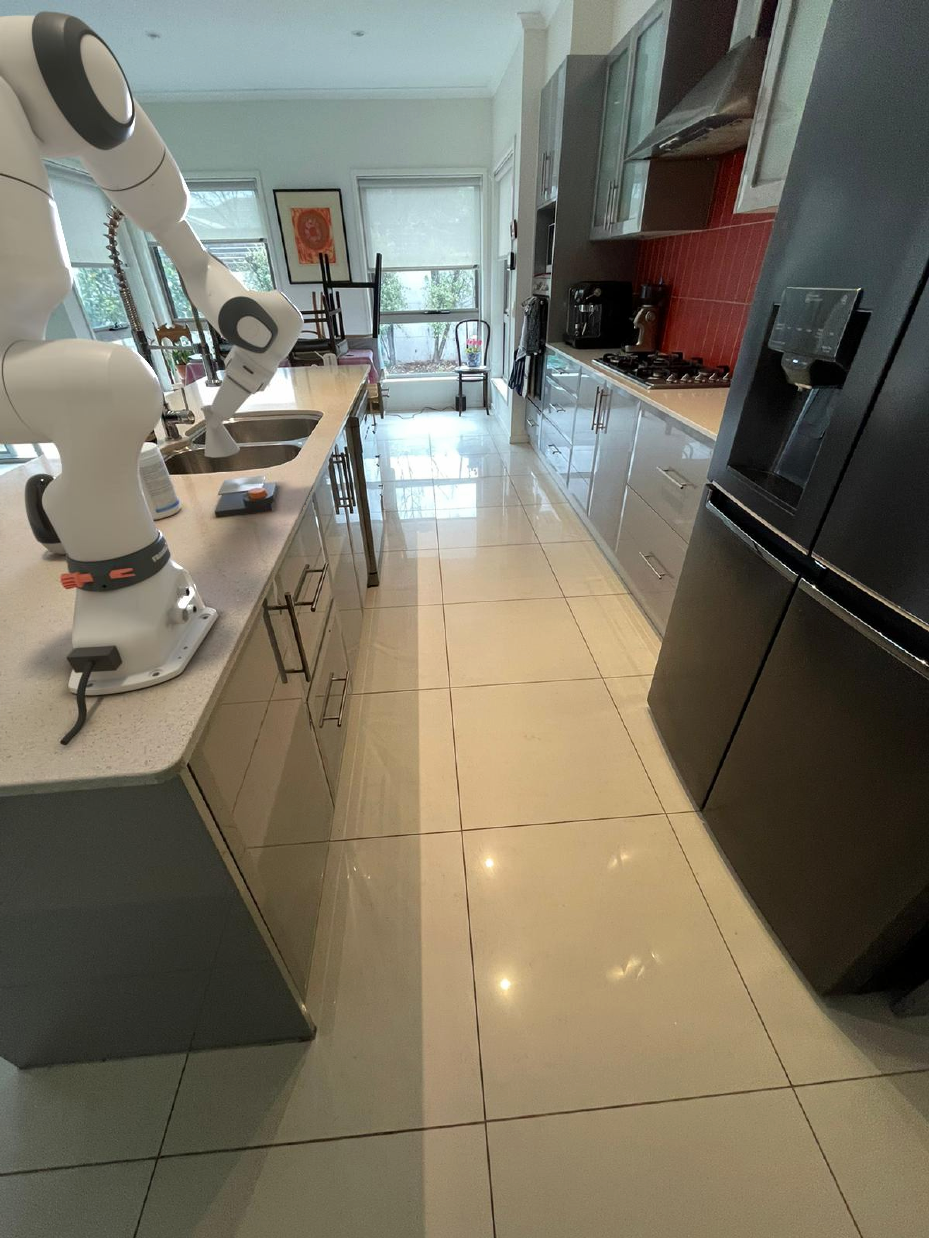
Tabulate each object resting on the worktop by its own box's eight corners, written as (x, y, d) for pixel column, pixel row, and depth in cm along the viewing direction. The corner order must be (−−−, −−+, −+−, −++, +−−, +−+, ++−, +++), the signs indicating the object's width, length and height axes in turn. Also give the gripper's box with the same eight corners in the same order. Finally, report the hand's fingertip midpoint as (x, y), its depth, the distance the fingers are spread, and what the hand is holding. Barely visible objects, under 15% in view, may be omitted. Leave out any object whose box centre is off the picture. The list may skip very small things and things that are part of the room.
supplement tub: (183, 502, 123) (160, 439, 114) (180, 517, 115) (155, 450, 107) (138, 509, 120) (112, 445, 112) (132, 524, 113) (103, 457, 104)
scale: (275, 511, 116) (271, 498, 114) (216, 518, 114) (211, 505, 112) (279, 486, 129) (276, 475, 128) (226, 492, 127) (223, 480, 126)
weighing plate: (261, 490, 119) (261, 489, 119) (218, 495, 117) (217, 493, 117) (265, 477, 127) (265, 475, 126) (224, 481, 125) (224, 480, 125)
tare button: (266, 498, 115) (264, 492, 115) (249, 500, 115) (247, 494, 114) (267, 493, 118) (265, 486, 118) (251, 495, 118) (249, 488, 117)
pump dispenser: (115, 544, 105) (81, 470, 96) (59, 565, 98) (17, 487, 89) (91, 533, 109) (57, 462, 101) (36, 552, 102) (-6, 478, 94)
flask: (228, 459, 111) (213, 410, 105) (198, 458, 112) (182, 410, 107) (246, 449, 117) (233, 402, 111) (218, 448, 118) (203, 402, 112)
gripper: (240, 352, 114) (207, 403, 117) (226, 366, 97) (189, 425, 101) (266, 372, 117) (233, 421, 121) (257, 389, 100) (220, 445, 104)
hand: (213, 423), depth 111 cm, fingers closed on flask, 3 cm apart
